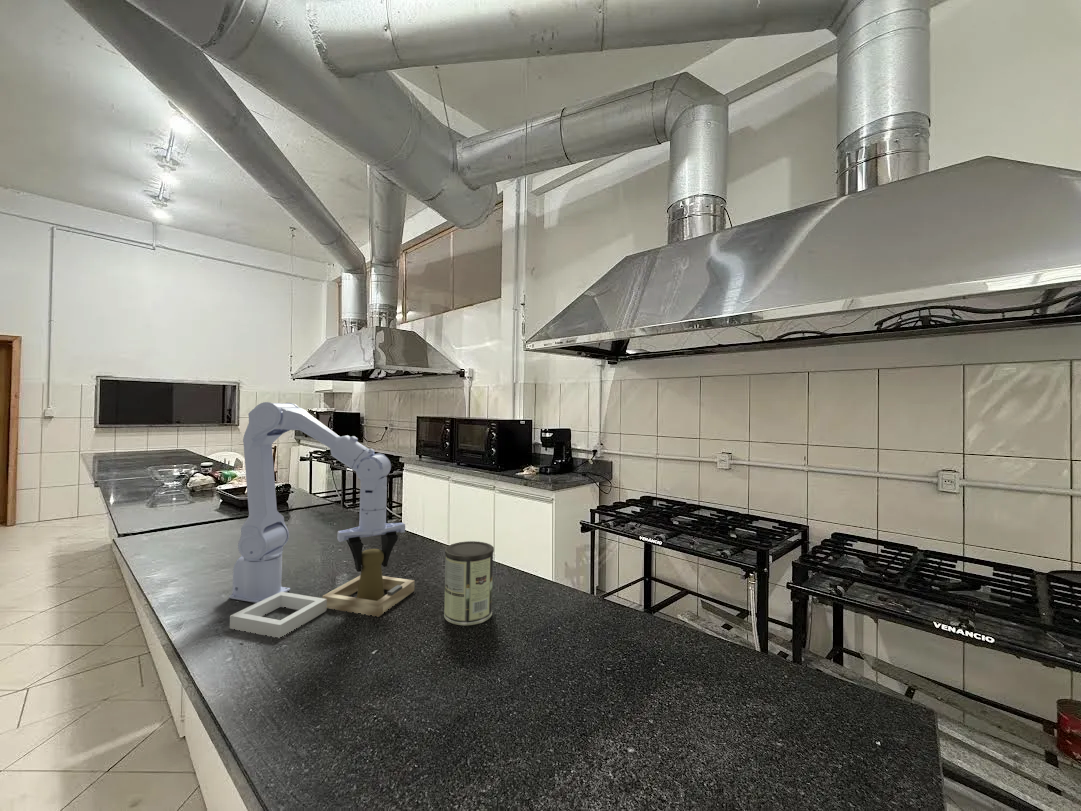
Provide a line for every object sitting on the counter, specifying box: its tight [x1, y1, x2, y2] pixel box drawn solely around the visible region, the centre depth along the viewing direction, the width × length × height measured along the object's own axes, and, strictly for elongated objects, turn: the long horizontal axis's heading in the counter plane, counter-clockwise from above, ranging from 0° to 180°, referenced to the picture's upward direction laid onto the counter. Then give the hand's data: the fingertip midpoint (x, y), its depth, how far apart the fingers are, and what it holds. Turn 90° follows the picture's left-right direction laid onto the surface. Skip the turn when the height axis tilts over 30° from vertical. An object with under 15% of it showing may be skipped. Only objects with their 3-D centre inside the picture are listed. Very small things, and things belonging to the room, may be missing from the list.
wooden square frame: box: [321, 575, 416, 618], centre depth 101 cm, size 14×14×3 cm
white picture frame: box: [229, 591, 328, 639], centre depth 91 cm, size 12×12×2 cm
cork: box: [356, 548, 385, 601], centre depth 101 cm, size 6×6×11 cm
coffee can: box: [443, 540, 495, 626], centre depth 95 cm, size 10×10×14 cm
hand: (371, 567), depth 101 cm, fingers closed on cork, 5 cm apart
